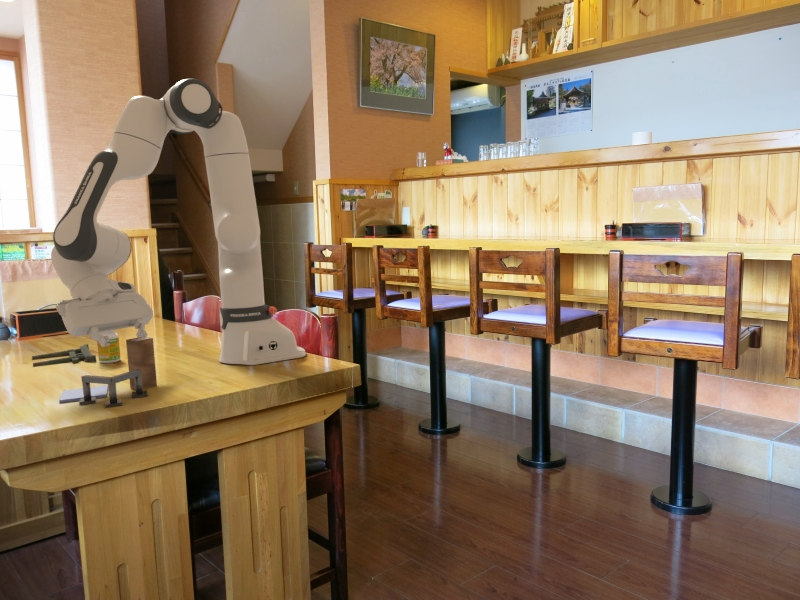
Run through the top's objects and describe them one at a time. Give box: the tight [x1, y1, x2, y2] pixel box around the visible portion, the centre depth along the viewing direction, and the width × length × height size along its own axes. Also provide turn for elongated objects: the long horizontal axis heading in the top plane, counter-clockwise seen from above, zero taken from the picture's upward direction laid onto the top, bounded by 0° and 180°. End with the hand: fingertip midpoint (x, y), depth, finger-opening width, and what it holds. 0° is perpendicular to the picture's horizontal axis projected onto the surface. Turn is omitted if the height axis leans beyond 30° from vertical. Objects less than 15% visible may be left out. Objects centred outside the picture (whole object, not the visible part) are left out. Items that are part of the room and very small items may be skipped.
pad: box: [58, 384, 109, 404], centre depth 143 cm, size 9×9×1 cm
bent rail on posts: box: [78, 369, 148, 408], centre depth 136 cm, size 13×8×6 cm, turn 112°
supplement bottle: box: [96, 330, 121, 364], centre depth 178 cm, size 5×5×10 cm
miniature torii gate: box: [31, 343, 97, 368], centre depth 185 cm, size 22×2×15 cm
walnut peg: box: [125, 336, 158, 391], centre depth 147 cm, size 4×4×11 cm
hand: (125, 341), depth 149 cm, fingers open, 8 cm apart
